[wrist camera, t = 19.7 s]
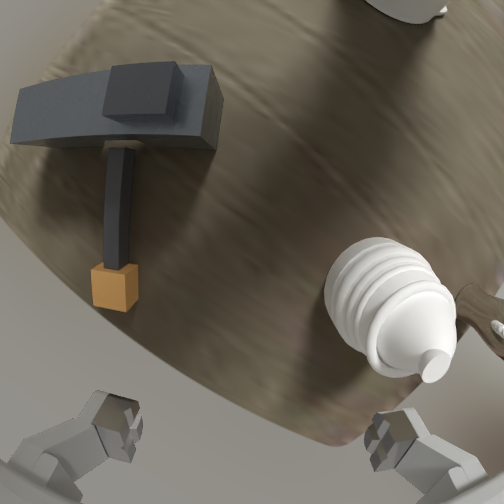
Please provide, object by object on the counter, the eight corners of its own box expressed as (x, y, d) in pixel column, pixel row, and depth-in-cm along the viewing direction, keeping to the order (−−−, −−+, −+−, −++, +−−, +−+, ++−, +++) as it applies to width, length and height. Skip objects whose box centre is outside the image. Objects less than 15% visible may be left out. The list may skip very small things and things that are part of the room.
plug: (111, 150, 30) (95, 147, 26) (145, 150, 30) (131, 146, 26) (107, 293, 34) (93, 305, 30) (138, 299, 34) (126, 312, 30)
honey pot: (309, 324, 35) (348, 432, 17) (343, 224, 32) (431, 270, 14) (393, 339, 35) (458, 424, 18) (428, 251, 32) (526, 302, 15)
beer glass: (485, 278, 33) (550, 314, 19) (476, 318, 35) (533, 363, 20) (456, 282, 33) (525, 325, 19) (447, 325, 35) (505, 378, 20)
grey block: (68, 104, 28) (2, 83, 15) (223, 99, 28) (205, 49, 16) (61, 148, 29) (-10, 142, 17) (216, 150, 30) (191, 128, 17)
